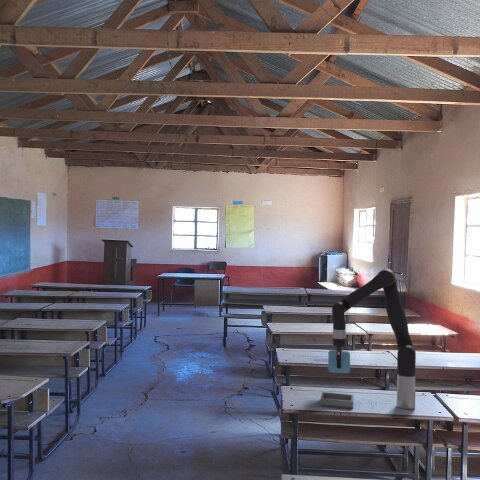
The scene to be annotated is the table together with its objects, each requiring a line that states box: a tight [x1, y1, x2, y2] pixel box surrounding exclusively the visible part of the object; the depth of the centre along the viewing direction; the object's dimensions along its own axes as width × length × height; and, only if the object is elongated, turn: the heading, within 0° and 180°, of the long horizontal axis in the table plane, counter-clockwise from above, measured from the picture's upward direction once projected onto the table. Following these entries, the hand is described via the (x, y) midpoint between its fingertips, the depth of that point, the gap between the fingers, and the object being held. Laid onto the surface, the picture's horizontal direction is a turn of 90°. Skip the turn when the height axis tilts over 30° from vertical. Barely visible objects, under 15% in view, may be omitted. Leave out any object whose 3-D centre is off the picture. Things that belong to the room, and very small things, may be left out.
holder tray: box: [319, 391, 354, 410], centre depth 272 cm, size 17×12×4 cm
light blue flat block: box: [327, 349, 351, 374], centre depth 284 cm, size 12×4×12 cm, turn 80°
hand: (339, 366), depth 284 cm, fingers closed on light blue flat block, 4 cm apart
